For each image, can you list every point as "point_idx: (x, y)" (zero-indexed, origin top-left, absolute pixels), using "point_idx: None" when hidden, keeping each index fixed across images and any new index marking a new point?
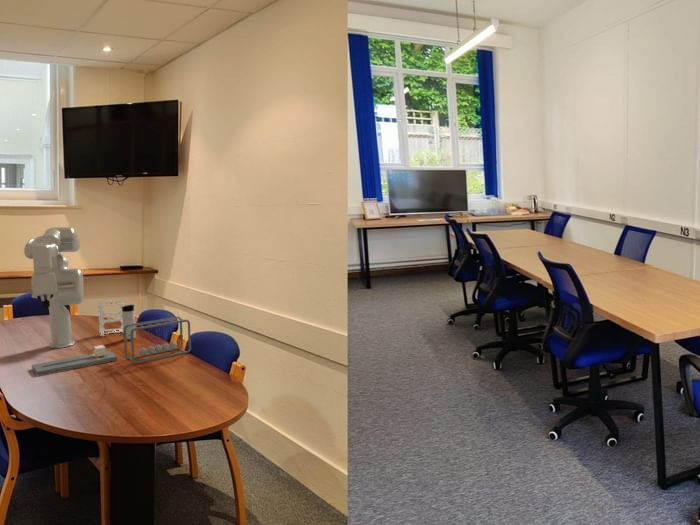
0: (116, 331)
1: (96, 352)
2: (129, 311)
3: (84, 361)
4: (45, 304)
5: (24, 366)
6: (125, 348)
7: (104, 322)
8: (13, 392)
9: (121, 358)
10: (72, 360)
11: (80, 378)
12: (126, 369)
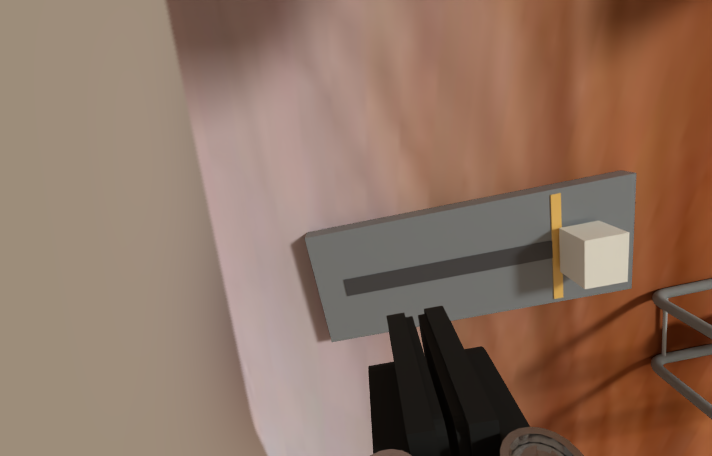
0: None
1: (571, 274)
2: None
3: (501, 295)
4: None
5: (273, 175)
6: (694, 328)
7: None
8: (277, 445)
9: (641, 260)
10: (461, 260)
11: None
12: (604, 398)
